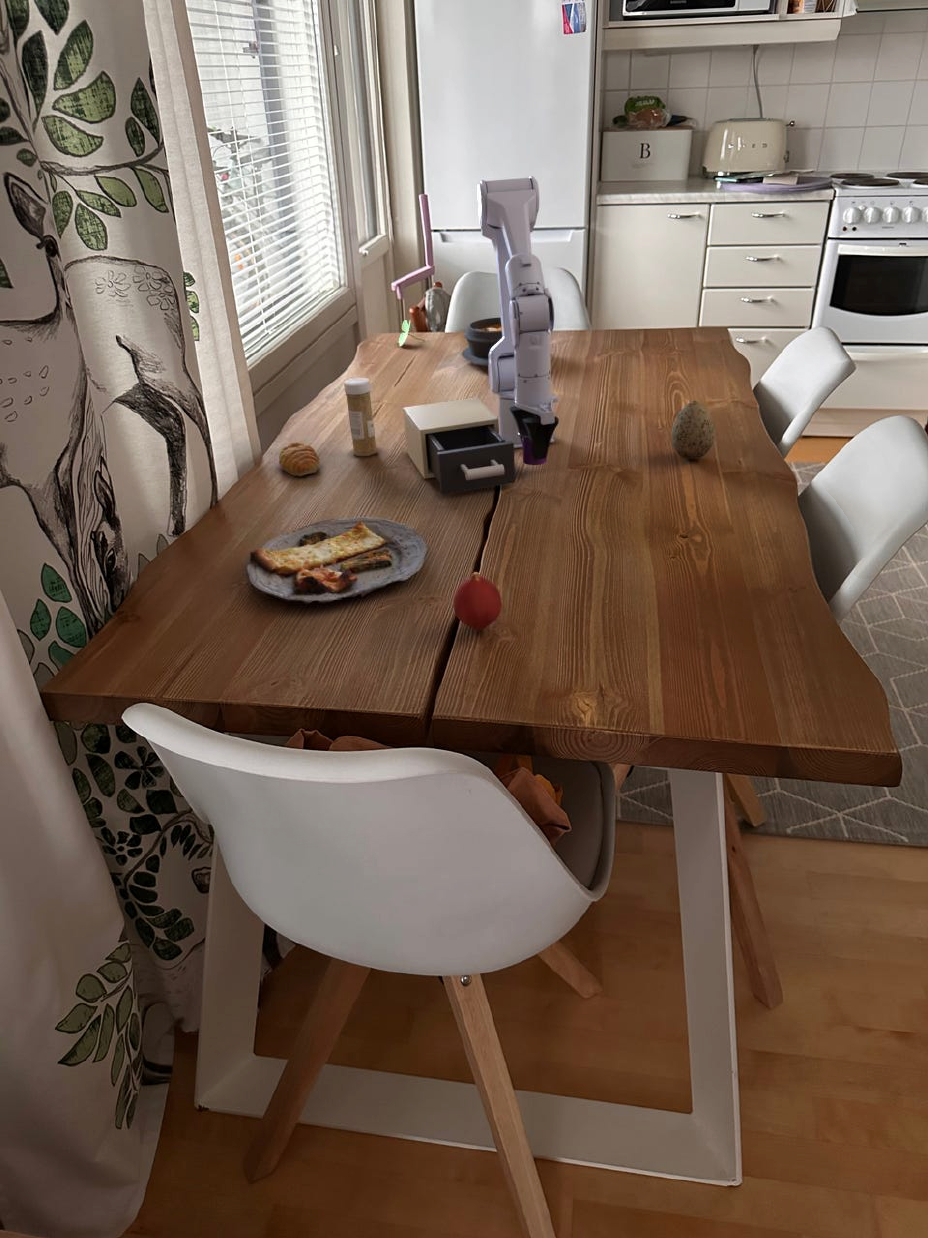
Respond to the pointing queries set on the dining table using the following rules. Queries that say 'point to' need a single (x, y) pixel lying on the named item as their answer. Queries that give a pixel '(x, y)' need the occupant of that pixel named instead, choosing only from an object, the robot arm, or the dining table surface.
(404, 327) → the seedling
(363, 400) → the sprinkles bottle
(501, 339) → the robot arm
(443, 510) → the dining table surface
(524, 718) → the dining table surface
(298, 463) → the pastry
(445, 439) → the pod drawer
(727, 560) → the dining table surface
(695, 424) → the decorative egg
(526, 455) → the coffee pod
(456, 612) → the onion
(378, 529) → the food plate
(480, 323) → the casserole
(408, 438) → the mini desk drawer box
